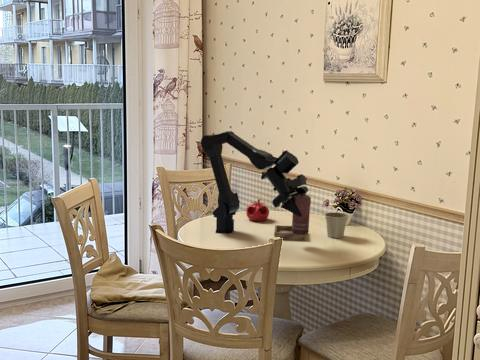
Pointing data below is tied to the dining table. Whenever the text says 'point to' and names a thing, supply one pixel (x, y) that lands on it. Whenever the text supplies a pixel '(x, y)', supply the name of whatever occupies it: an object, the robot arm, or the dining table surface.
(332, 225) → the flower pot
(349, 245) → the dining table surface
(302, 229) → the can
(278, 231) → the tray
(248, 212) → the pomegranate
